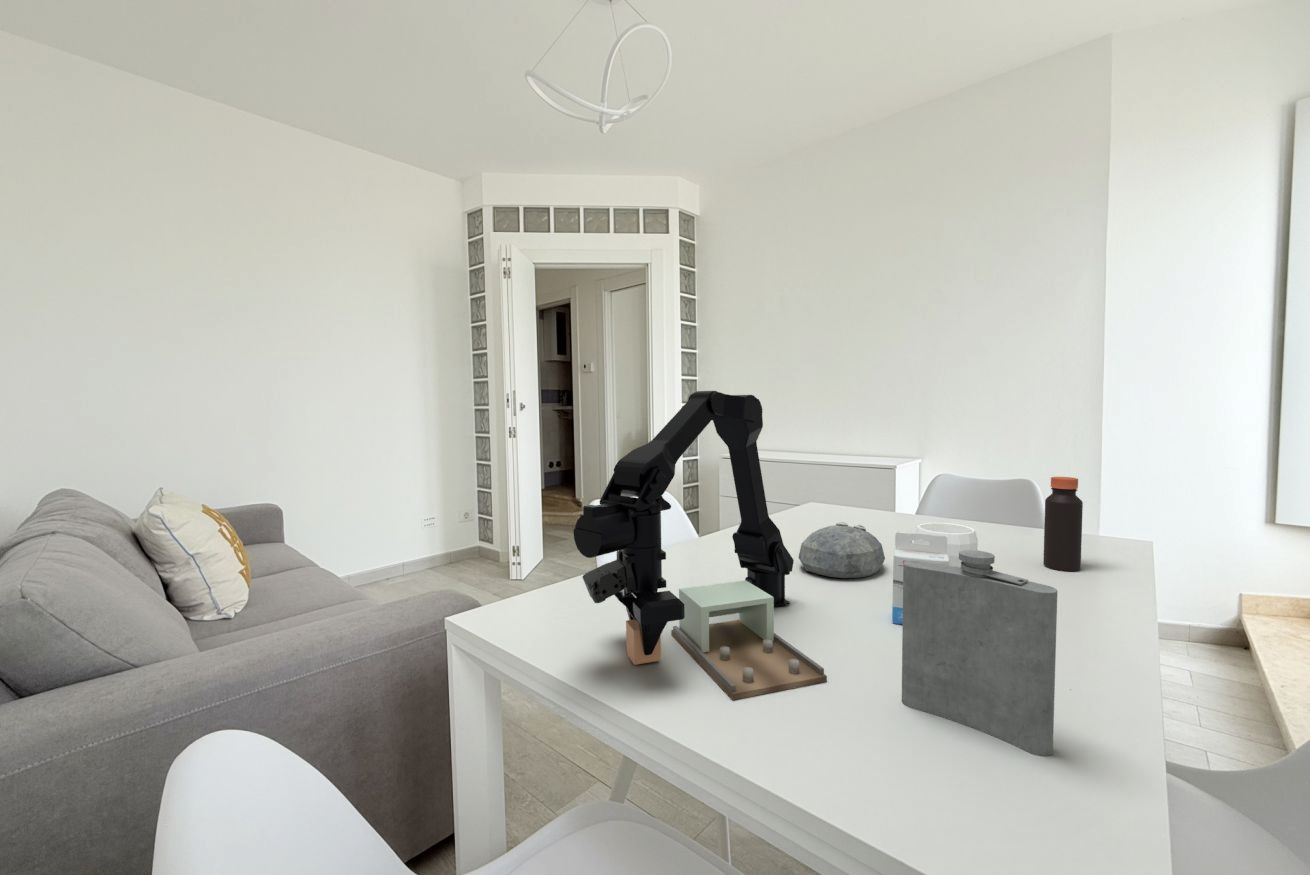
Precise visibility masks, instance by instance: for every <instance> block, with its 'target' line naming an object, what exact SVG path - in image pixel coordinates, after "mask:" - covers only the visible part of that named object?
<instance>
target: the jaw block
mask: <svg viewBox="0 0 1310 875" xmlns="http://www.w3.org/2000/svg"><path fill="white" fill-rule="evenodd" d="M625 628H626V629H625V636H626V642H625V643H626V655H627V656H628V658H629V659H630V661H631V662H632V664H633V665H634V666H637V665H642V664H648V663H654V662H658V661H662V656H661V655H662V654H661V653H662V648H661V643H662V642H661V640H662V638H661V637H662V635H661V636H660V638H659V640H658V642H657V644H656V646H655V648H654V651H653V653H652V654H651V655H645V654H644V651H643V646H642V641H641V635H640V629H639V623H638V621H636V620H635V619H634V620H629V619H627V620H625Z"/></svg>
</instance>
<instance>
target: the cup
mask: <svg viewBox="0 0 1310 875" xmlns="http://www.w3.org/2000/svg"><path fill="white" fill-rule="evenodd" d="M914 533H918V534H930V535H941V536H946V537H947V554H948V557H949V566H954V567H960V568H961V562H962V561H961V560H959V551H962V550H977V551H978V545H979V544H978V543H979V542H978V541H979V540H978V537H977V533H976V530H975V528H973V527H970V526H967V525H962V524H957V523H949V522H924V523H920V524H918V525H917V526H916V529H915V532H914ZM913 541H914V542H913V543H915V544H926V545H929V544H930V542H929V541H924V540H923V539H919V540H913Z"/></svg>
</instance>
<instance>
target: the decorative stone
mask: <svg viewBox="0 0 1310 875" xmlns="http://www.w3.org/2000/svg"><path fill="white" fill-rule="evenodd" d="M798 552H799V553H798V557H797V558H798V560H799V561H800V563H801V564H802V566H803V567H804V569H805V571H808V572H810V573H813V574H817V575H821V576H824V577H825V576H826V577H829V578H841V579H853V578H855V579H857V578H864V577H869V576H872V575H874V574H877V573H878V572H879V570H880V568H881V567H882V566H883V564H884V562H885V560H886V557H885V553H884V548H883V545H882V543H881V542H880V541H879V539H878V538H877V537H876V536H874V535H873V534H872V533H870V532H869V531H867V528H866V527H865V526H863V525H860V524H855V525H853V526H849V524H848V523H846V522H842V521H838V522H837V523H836V524H835V525H828V526H826V527H821V528H819V529H817V530H816V531H814V532H811V534H809V535H808V536H807V537H806V538H805V539H804V541H803V542H802V543H801V545H800V549H799V551H798Z"/></svg>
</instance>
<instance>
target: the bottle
mask: <svg viewBox="0 0 1310 875" xmlns="http://www.w3.org/2000/svg"><path fill="white" fill-rule="evenodd" d="M1078 489H1079V478H1077V477H1071V476H1052V477H1050V490H1051V493H1050V495H1048V496H1047V497H1046V498H1045V500H1044V530H1043V531H1044V532H1043V533H1044V536H1043V561H1042V562H1043V566H1044V567H1045V568H1048V567H1049V568H1048V569H1051V568H1052V569H1051V570H1055V569H1056V570H1055V571H1060V570H1063V571H1062V572H1078V571H1080V570H1081V568H1082V536H1083V534H1082V533H1083V511H1084V510H1083V508H1084V506H1083V505H1084V502H1083V501H1082V499H1081V498H1079V496H1078V495H1077V492H1078Z"/></svg>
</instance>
